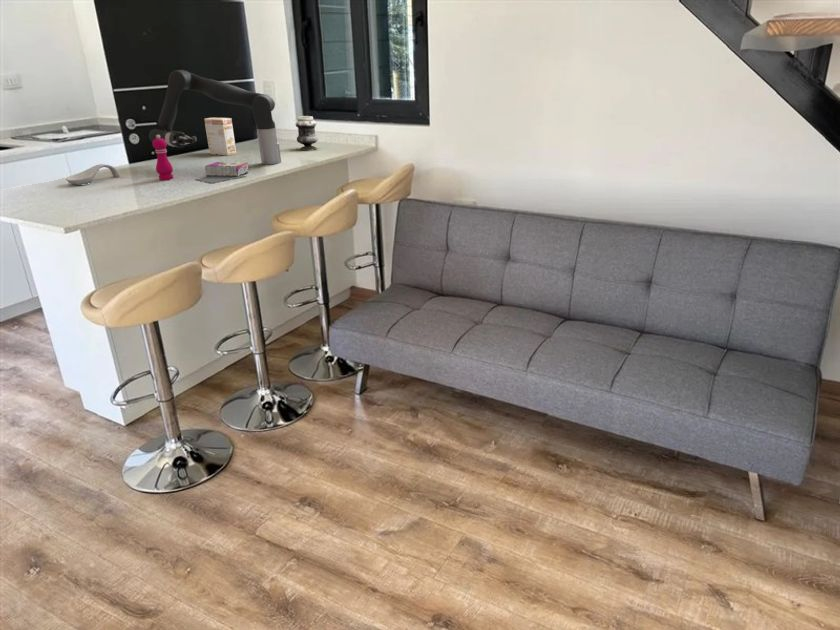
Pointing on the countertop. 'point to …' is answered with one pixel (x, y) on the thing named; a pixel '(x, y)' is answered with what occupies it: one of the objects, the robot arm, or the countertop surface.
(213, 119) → the coffeecake box
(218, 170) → the candy bar box
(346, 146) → the countertop surface
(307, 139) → the apothecary jar
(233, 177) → the rubber mat
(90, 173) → the spoon rest
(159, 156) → the pepper mill
